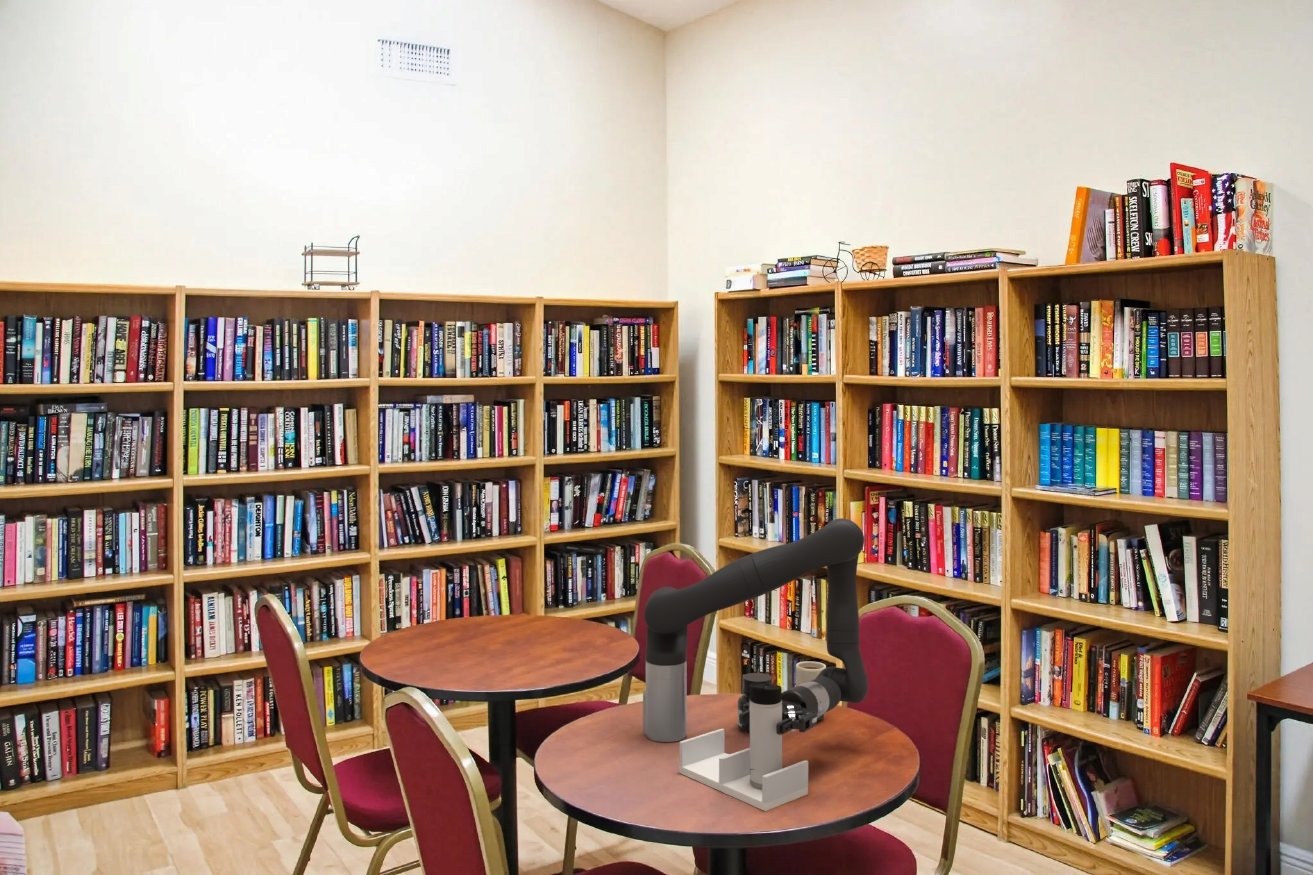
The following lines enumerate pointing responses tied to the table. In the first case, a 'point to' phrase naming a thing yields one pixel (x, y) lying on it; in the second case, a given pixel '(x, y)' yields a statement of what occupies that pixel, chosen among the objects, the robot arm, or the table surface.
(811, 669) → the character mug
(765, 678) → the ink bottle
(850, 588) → the robot arm
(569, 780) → the table surface
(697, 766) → the rack
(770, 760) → the travel mug
